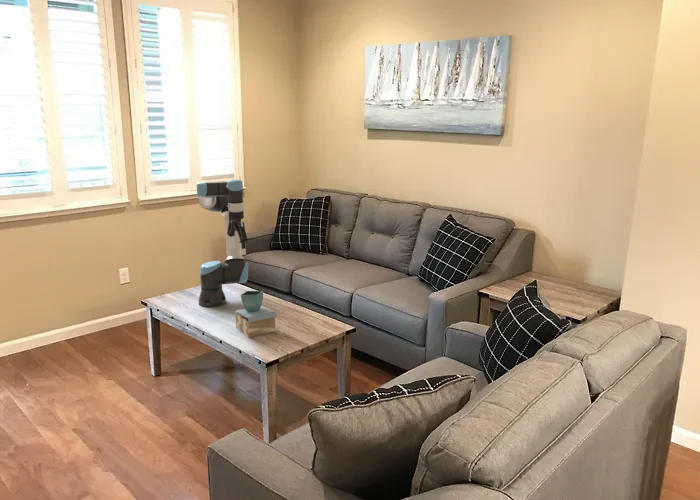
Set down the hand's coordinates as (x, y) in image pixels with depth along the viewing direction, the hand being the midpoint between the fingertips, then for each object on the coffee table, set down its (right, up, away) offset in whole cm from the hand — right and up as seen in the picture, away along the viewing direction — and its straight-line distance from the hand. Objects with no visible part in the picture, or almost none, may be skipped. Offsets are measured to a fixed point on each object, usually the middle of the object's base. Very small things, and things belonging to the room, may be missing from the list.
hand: (237, 251), depth 287 cm
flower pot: (+9, -29, -8) cm, 32 cm away
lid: (+11, -32, -9) cm, 35 cm away
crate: (+10, -39, -7) cm, 41 cm away
